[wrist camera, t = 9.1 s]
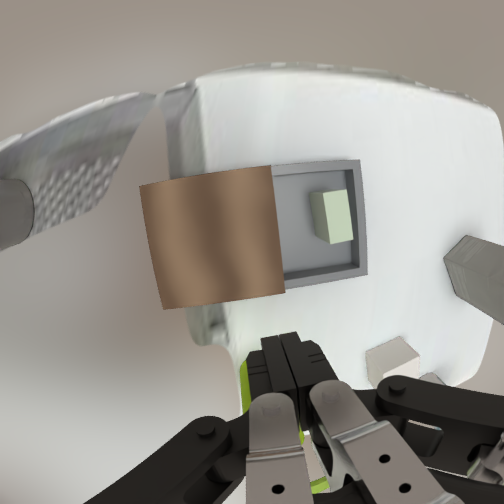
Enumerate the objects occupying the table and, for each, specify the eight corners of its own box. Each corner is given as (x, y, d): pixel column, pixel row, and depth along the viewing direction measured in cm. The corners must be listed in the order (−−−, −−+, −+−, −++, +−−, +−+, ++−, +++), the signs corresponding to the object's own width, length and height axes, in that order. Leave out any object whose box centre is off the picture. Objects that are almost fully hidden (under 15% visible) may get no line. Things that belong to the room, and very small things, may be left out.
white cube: (365, 351, 37) (383, 373, 31) (399, 335, 37) (420, 355, 31) (367, 380, 38) (383, 403, 32) (400, 365, 38) (418, 385, 32)
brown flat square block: (170, 296, 33) (163, 309, 29) (150, 186, 30) (139, 186, 26) (279, 281, 33) (285, 293, 29) (265, 168, 30) (270, 165, 26)
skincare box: (477, 272, 36) (544, 303, 21) (451, 299, 36) (519, 340, 21) (465, 231, 34) (543, 253, 19) (438, 258, 35) (518, 292, 19)
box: (279, 281, 33) (283, 289, 30) (265, 168, 30) (269, 166, 27) (357, 267, 34) (367, 274, 31) (349, 161, 31) (359, 159, 28)
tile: (330, 244, 27) (353, 239, 27) (322, 193, 26) (346, 189, 26) (315, 236, 32) (335, 231, 32) (308, 192, 31) (329, 189, 31)
